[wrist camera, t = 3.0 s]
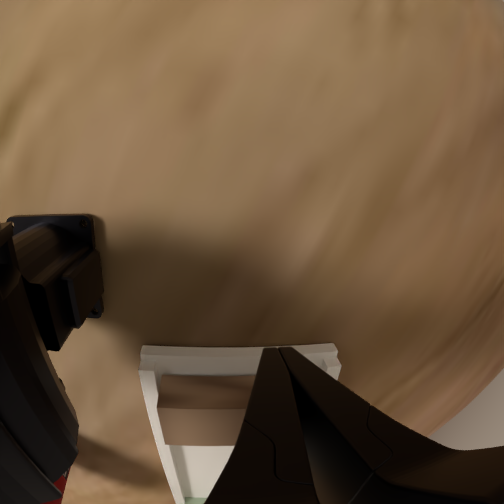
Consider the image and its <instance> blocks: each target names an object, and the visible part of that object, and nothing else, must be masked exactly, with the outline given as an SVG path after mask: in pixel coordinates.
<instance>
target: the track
mask: <svg viewBox="0 0 504 504" xmlns="http://www.w3.org/2000/svg"><path fill="white" fill-rule="evenodd" d="M274 347H276V348H278V347H287V346H274ZM291 347H293V348H294V349H295V350H297V351H298V352H299V353H301V354H302V355H303V356H305V357H306V358H307V359H309V360H310V361H311V362H313V363H314V364H315V365H317V366H318V367H319V368H321V369H322V370H324V371H325V372H326V373H328V374H329V375H330V376H332V377H333V378H334V379H336V380H338V376H339V373H340V370H341V366H342V365H341V364H340V362H339V360H338V358H337V354H338V350H337V348H336V347H335V345H334V343H326V344H312V345H295V346H291ZM263 348H265V347H171V346H150V345H142V349H141V352H140V357H141V362H140V366H139V369H138V371H139V376H140V381H141V385H142V390H143V394H144V399H145V403H146V407H147V411H148V415H149V419H150V423H151V427H152V431H153V434H154V438H155V441H156V445H157V448H158V452H159V455H160V458H161V461H162V465H163V468H164V471H165V474H166V477H167V480H168V483H169V486H170V488H171V491H172V494H173V497H174V499H175V502H176V504H204V502H205V501H206V499H207V497H208V496H209V494H210V492H211V490H212V489H213V487H214V485H215V483H216V481H217V480H218V478H219V476H220V474H221V472H222V471H223V469H224V467H225V465H226V463H227V461H228V459H229V457H230V455H231V453H232V451H233V448H234V446H181V445H165V442H164V438H163V434H162V430H161V426H160V421H159V417H158V412H157V408H156V407H157V401H158V395H159V388H160V382H161V376H162V375H180V376H254V375H256V373H257V369H258V365H259V362H260V358H261V354H262V350H263Z"/></svg>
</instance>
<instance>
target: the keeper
mask: <svg viewBox="0 0 504 504" xmlns="http://www.w3.org/2000/svg"><path fill="white" fill-rule="evenodd" d="M255 376H256V375H254V376H180V375H162V376H161V382H160V388H159V395H158V401H157V407H156V408H157V412H158V417H159V421H160V426H161V430H162V434H163V438H164V442H165V445H181V446H235V443H236V441H237V438H238V435H239V432H240V429H241V425H242V422H243V419H244V415H245V412H246V408H247V405H248V401H249V398H250V394H251V391H252V387H253V383H254V380H255Z"/></svg>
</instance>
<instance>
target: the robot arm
mask: <svg viewBox="0 0 504 504" xmlns="http://www.w3.org/2000/svg"><path fill="white" fill-rule="evenodd" d="M82 220H85V221H86V222H87V227H85V226H84V225H83V224H82ZM12 221H13V223H14V227H13V225H12ZM103 292H104V287H103V279H102V271H101V263H100V254H99V252H98V251H97V249H96V248H95V237H94V223H93V219H92V217H91V216H90V215H89V214H46V215H18V216H12V217H9V218H8V219H7V222H5V223H0V504H42V503H46V502H50V501H53V500H57V499H60V498H61V497H62V493H61V491H60V490H59V489H58V488H57V487H56V486H55V485H54V484H53V483H54V482H56V481H57V480H58V479H59V478H60V477H61V476H62V475H63V474H64V473H65V472H66V471H67V470H68V469H69V468H70V467H71V466H72V464H73V462H74V460H75V458H76V456H77V454H78V448H77V446H76V444H77V437H78V429H79V424H78V420H77V416H76V412H75V409H74V407H73V405H72V403H71V402H70V400H69V398H68V396H67V394H66V392H65V386H64V384H63V382H62V380H61V379H60V378H59V377H58V375H57V373H56V371H55V369H54V367H53V364H52V362H51V360H50V357H49V355H48V353H47V351H48V350H51V351H59V350H60V349H61V347H62V346H63V344H64V342H65V341H66V339H67V338H68V336H69V335H70V333H71V331H72V330H73V328H76V329H79V328H80V327H81V326H82V324H83V323H84V321H85V320H86V318H99V317H101V315H102V313H103V312H104V308H103V302H102V296H101V295H102V294H103ZM93 308H96V309H97V310H98V312H96V311H94V309H93ZM204 504H504V446H499V447H493V448H485V449H476V450H465V451H464V450H455V449H451V448H448V447H445V446H443V445H441V444H439V443H437V442H435V441H433V440H431V439H429V438H427V437H425V436H423V435H421V434H419V433H417V432H415V431H413V430H411V429H409V428H408V427H406V426H404V425H402V424H401V423H399V422H397V421H395V420H394V419H392V418H390V417H389V416H387V415H386V414H384V413H383V412H381V411H380V410H378V409H377V408H375V407H374V406H372V405H371V406H370V404H369V403H368V402H367V401H365V400H364V399H362V398H361V397H360V396H358V395H357V394H355V393H354V392H352V391H351V390H350V389H348V388H347V387H345V386H344V385H343V384H341V383H340V382H339V381H337V380H336V379H334V378H333V377H332V376H330V375H329V374H328V373H326V372H325V371H324V370H322V369H321V368H319V367H318V366H317V365H315V364H314V363H313V362H311V361H310V360H309V359H307V358H306V357H305V356H303V355H302V354H301V353H299V352H298V351H297V350H295V349H294V348H293V347H291V346H287V347H278V348H276V347H265V348H263V350H262V354H261V358H260V362H259V365H258V369H257V373H256V376H255V380H254V383H253V387H252V391H251V394H250V398H249V401H248V405H247V408H246V412H245V415H244V419H243V422H242V425H241V429H240V432H239V435H238V438H237V441H236V443H235V446H234V448H233V451H232V453H231V455H230V457H229V459H228V461H227V463H226V465H225V467H224V469H223V471H222V472H221V474H220V476H219V478H218V480H217V481H216V483H215V485H214V487H213V489H212V490H211V492H210V494H209V496H208V497H207V499H206V501H205V502H204Z"/></svg>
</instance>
